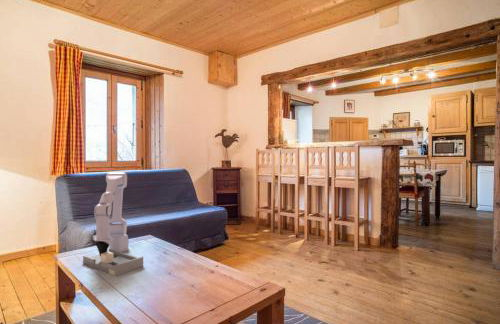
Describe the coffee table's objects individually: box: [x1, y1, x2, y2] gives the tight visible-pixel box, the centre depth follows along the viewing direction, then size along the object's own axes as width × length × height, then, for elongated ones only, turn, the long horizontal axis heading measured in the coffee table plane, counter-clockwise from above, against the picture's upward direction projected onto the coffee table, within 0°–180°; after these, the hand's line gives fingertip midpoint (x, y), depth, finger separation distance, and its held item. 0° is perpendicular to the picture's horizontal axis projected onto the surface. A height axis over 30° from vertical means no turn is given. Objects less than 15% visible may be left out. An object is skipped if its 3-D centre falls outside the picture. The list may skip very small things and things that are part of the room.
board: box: [82, 248, 144, 277], centre depth 140 cm, size 14×28×4 cm, turn 57°
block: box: [101, 252, 114, 263], centre depth 139 cm, size 4×4×4 cm
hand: (102, 256), depth 141 cm, fingers closed
